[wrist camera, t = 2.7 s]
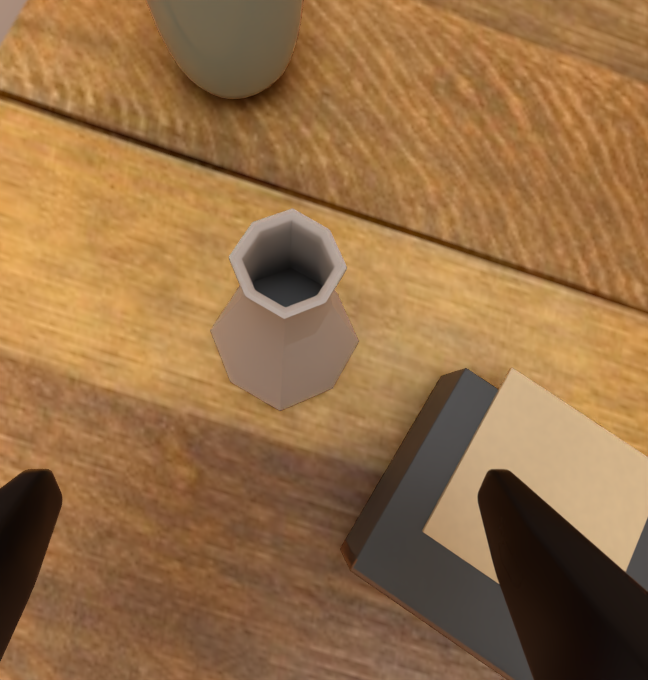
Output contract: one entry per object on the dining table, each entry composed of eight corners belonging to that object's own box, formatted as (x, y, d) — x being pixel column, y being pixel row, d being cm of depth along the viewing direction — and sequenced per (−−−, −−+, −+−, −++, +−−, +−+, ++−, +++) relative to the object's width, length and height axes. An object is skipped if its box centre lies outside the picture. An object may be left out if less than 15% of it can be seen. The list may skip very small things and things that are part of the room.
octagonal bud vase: (185, 329, 21) (102, 244, 11) (292, 246, 22) (300, 108, 13) (278, 437, 20) (274, 445, 11) (381, 343, 22) (461, 276, 12)
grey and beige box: (625, 747, 19) (691, 808, 16) (339, 549, 20) (350, 571, 16) (706, 526, 22) (777, 542, 18) (452, 356, 22) (479, 345, 19)
